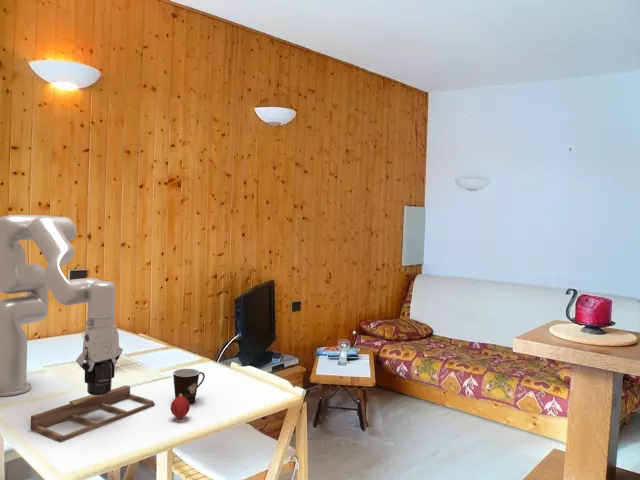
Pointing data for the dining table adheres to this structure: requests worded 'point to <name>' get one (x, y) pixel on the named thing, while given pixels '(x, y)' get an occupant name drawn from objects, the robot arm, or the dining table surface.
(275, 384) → the dining table surface
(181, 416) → the onion
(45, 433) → the divided wooden rack
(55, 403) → the dining table surface
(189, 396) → the coffee mug
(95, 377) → the supplement bottle
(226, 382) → the dining table surface
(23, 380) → the robot arm
